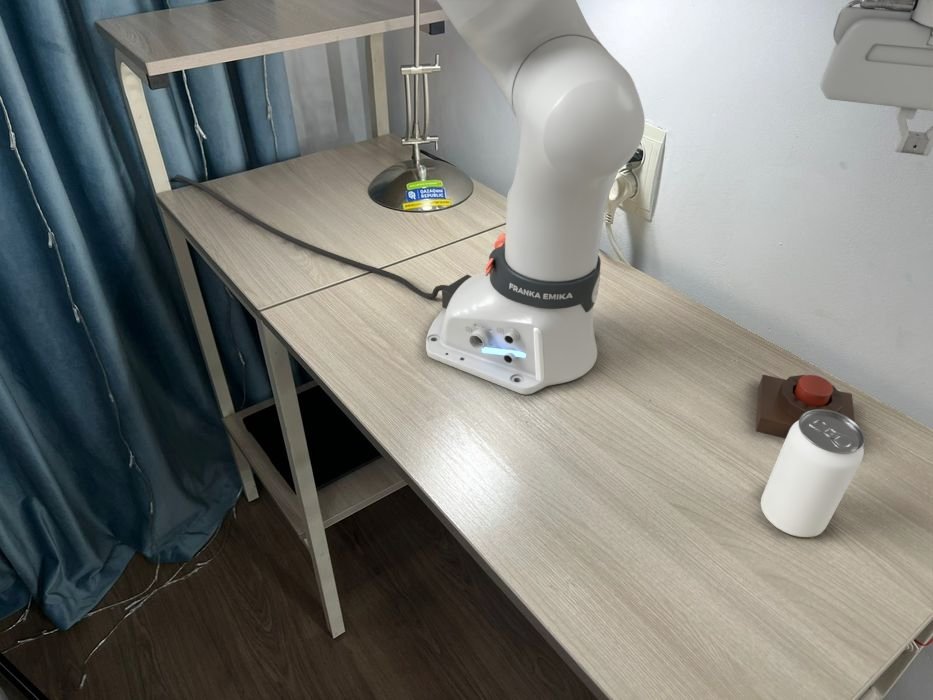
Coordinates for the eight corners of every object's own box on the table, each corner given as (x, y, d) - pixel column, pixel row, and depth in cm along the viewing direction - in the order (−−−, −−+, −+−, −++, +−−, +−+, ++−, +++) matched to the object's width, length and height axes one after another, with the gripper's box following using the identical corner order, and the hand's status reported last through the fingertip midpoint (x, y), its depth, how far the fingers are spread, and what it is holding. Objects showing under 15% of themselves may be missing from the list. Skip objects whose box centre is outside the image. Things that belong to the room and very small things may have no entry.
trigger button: (794, 402, 78) (799, 391, 77) (794, 382, 81) (798, 371, 80) (828, 410, 77) (834, 398, 76) (827, 390, 80) (832, 378, 79)
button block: (755, 431, 80) (764, 405, 77) (758, 387, 86) (766, 362, 83) (849, 453, 77) (862, 428, 74) (845, 407, 83) (857, 382, 80)
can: (799, 550, 67) (841, 467, 60) (745, 505, 71) (778, 422, 64) (840, 521, 70) (885, 438, 62) (786, 479, 74) (823, 396, 67)
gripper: (847, 0, 62) (800, 149, 70) (1121, 20, 56) (1033, 179, 65) (843, -15, 66) (799, 127, 75) (1096, 3, 61) (1017, 154, 69)
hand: (910, 152), depth 70 cm, fingers closed
